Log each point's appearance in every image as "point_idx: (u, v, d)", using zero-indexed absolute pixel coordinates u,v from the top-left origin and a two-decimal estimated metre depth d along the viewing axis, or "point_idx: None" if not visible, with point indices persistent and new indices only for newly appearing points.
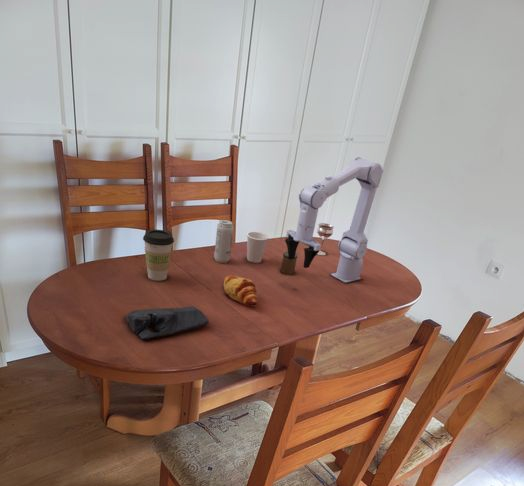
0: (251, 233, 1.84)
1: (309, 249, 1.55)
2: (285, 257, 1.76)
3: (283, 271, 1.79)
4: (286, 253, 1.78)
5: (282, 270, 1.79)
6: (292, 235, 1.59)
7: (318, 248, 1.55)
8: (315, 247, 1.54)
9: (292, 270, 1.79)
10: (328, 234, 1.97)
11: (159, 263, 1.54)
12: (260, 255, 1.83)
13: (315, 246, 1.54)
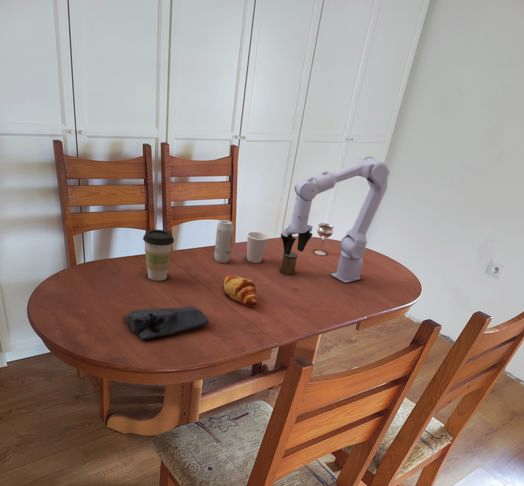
0: (251, 233, 1.84)
1: None
2: (285, 257, 1.76)
3: (283, 271, 1.79)
4: None
5: (282, 270, 1.79)
6: None
7: (284, 233, 1.64)
8: None
9: (292, 270, 1.79)
10: (328, 234, 1.97)
11: (159, 263, 1.54)
12: (260, 255, 1.83)
13: None
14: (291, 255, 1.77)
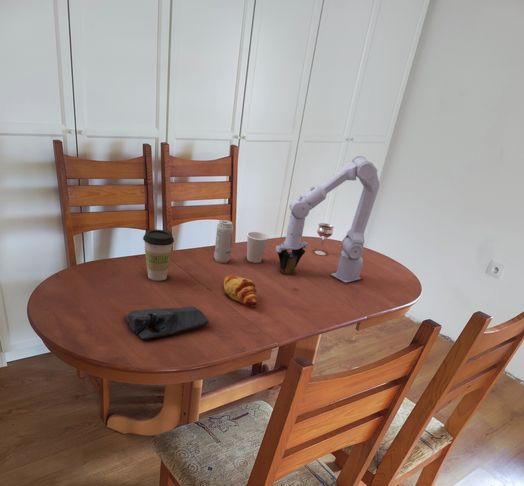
0: (251, 233, 1.84)
1: None
2: None
3: (283, 271, 1.79)
4: None
5: (282, 270, 1.79)
6: None
7: (277, 249, 1.72)
8: None
9: (292, 270, 1.79)
10: (328, 234, 1.97)
11: (159, 263, 1.54)
12: (260, 255, 1.83)
13: None
14: (291, 255, 1.77)
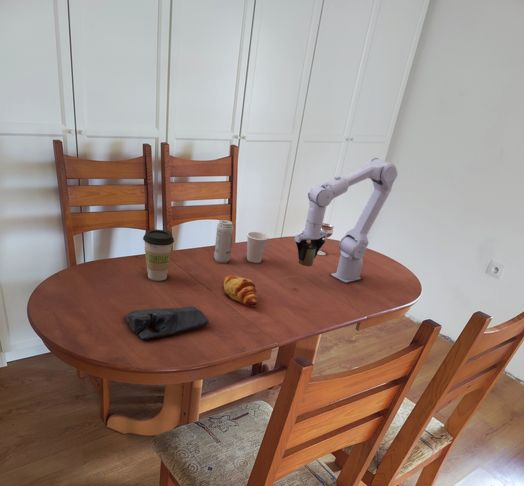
0: (251, 233, 1.84)
1: None
2: None
3: (301, 262, 1.71)
4: None
5: (300, 261, 1.71)
6: None
7: (296, 239, 1.63)
8: None
9: (311, 261, 1.70)
10: (328, 234, 1.97)
11: (159, 263, 1.54)
12: (260, 255, 1.83)
13: None
14: (310, 245, 1.68)
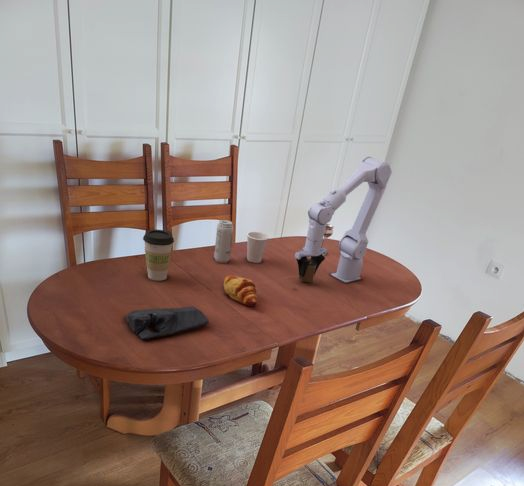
0: (251, 233, 1.84)
1: None
2: None
3: (302, 278, 1.73)
4: None
5: (301, 277, 1.73)
6: None
7: (297, 256, 1.65)
8: None
9: (311, 277, 1.72)
10: (328, 234, 1.97)
11: (159, 263, 1.54)
12: (260, 255, 1.83)
13: None
14: (310, 262, 1.70)
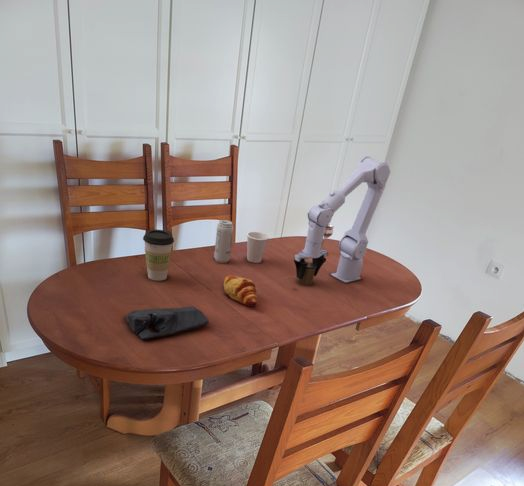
0: (251, 233, 1.84)
1: None
2: None
3: (301, 282, 1.73)
4: None
5: (300, 281, 1.74)
6: None
7: (296, 258, 1.66)
8: None
9: (310, 281, 1.73)
10: (328, 234, 1.97)
11: (159, 263, 1.54)
12: (260, 255, 1.83)
13: None
14: (310, 265, 1.71)
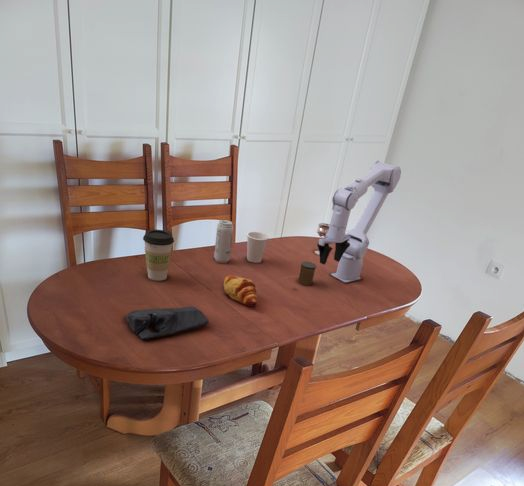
0: (251, 233, 1.84)
1: None
2: (303, 267, 1.70)
3: (301, 282, 1.73)
4: (304, 263, 1.72)
5: (300, 281, 1.74)
6: None
7: (320, 242, 1.62)
8: None
9: (310, 281, 1.73)
10: None
11: (159, 263, 1.54)
12: (260, 255, 1.83)
13: None
14: (310, 265, 1.71)
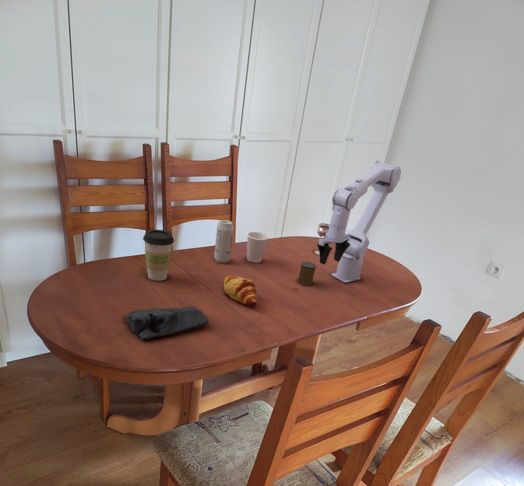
0: (251, 233, 1.84)
1: None
2: (303, 267, 1.70)
3: (301, 282, 1.73)
4: (304, 263, 1.72)
5: (300, 281, 1.74)
6: None
7: (320, 242, 1.62)
8: None
9: (310, 281, 1.73)
10: None
11: (159, 263, 1.54)
12: (260, 255, 1.83)
13: None
14: (310, 265, 1.71)
